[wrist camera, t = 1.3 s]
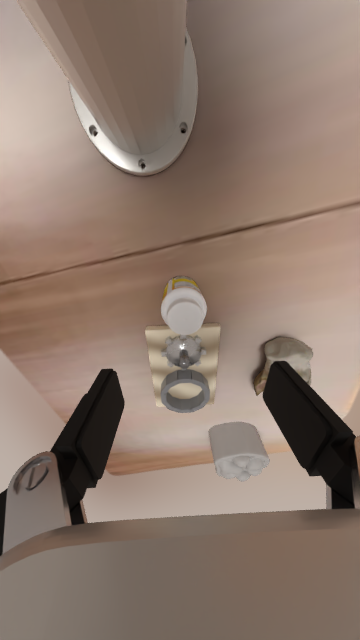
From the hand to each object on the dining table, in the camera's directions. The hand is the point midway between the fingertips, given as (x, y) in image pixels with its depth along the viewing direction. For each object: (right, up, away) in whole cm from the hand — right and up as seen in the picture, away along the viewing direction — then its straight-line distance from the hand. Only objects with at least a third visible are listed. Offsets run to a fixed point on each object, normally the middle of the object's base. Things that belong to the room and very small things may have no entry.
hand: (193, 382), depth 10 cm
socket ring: (0, -10, +24) cm, 26 cm away
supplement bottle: (-1, +8, +16) cm, 19 cm away
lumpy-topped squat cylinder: (+14, -28, +35) cm, 47 cm away
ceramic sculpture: (+19, -4, +24) cm, 31 cm away
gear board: (0, -6, +23) cm, 24 cm away
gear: (0, -2, +20) cm, 20 cm away
